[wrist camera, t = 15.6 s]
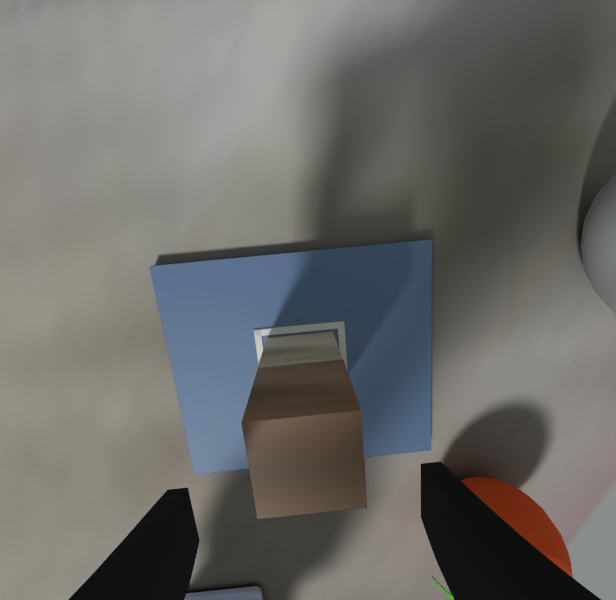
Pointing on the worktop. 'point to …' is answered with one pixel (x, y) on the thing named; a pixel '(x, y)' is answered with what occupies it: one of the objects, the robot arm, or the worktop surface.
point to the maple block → (299, 349)
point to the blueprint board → (295, 321)
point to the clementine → (521, 518)
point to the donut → (601, 243)
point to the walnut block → (304, 440)
